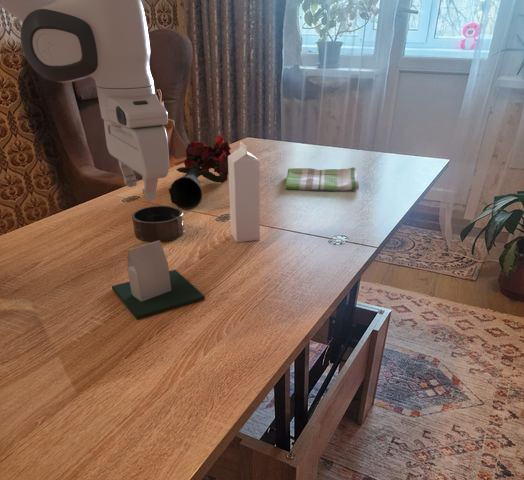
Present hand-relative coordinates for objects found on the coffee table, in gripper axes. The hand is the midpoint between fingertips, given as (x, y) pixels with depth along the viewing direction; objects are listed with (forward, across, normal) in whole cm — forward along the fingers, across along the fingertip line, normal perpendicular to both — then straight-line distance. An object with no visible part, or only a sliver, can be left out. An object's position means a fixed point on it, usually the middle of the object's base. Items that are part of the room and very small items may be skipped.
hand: (140, 192), depth 85 cm
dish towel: (+20, -40, +74) cm, 87 cm away
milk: (+20, -15, +30) cm, 40 cm away
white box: (+20, +1, -1) cm, 20 cm away
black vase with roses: (+20, -54, +38) cm, 69 cm away
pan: (+20, -29, +13) cm, 38 cm away
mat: (+20, +1, 0) cm, 20 cm away
